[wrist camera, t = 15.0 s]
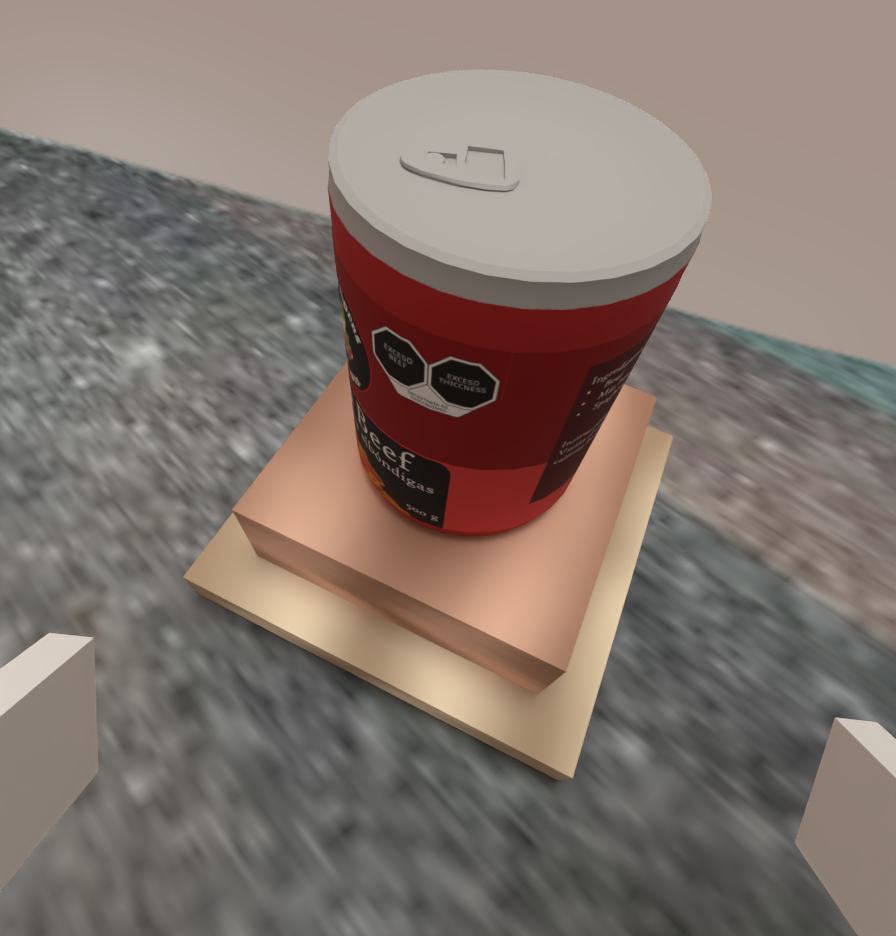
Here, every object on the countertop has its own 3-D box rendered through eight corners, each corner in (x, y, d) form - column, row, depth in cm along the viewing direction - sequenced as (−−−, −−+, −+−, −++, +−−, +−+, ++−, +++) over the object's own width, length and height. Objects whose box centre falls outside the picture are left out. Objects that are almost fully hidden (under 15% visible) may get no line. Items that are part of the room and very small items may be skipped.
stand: (656, 458, 29) (713, 382, 23) (558, 780, 20) (611, 772, 15) (382, 346, 31) (379, 256, 26) (198, 594, 23) (142, 533, 18)
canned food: (343, 385, 22) (303, 69, 12) (534, 360, 23) (626, 60, 14) (377, 565, 18) (356, 305, 9) (602, 521, 20) (791, 258, 10)
